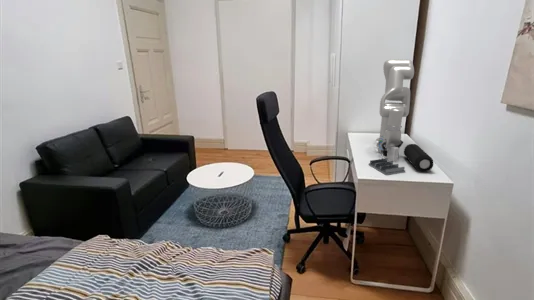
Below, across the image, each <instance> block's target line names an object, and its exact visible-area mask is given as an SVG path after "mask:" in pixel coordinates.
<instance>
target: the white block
mask: <svg viewBox="0 0 534 300" xmlns="http://www.w3.org/2000/svg"><path fill="white" fill-rule="evenodd" d="M386 147H387V146H386ZM386 147H385V148H386ZM399 150H400V149H399V148H398V147H395V146H391V147H388V149H387V151H388V152H387V156H384V155H383V154H382V158H383V159H385V158H388V161H393V163H397V162H398V158H399V157H398V156H399V152H400V151H399Z"/></svg>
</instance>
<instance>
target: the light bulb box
mask: <svg viewBox="0 0 534 300" xmlns="http://www.w3.org/2000/svg"><path fill="white" fill-rule="evenodd" d="M379 137H380V136H379ZM379 137H378V138H379ZM383 138H384V136H382V137H380V138H379V146H378V147H377V153H378V154H379V153H380V154H383V149H382V147H381V145H380V144H381V143H382V142H383Z"/></svg>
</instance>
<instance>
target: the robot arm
mask: <svg viewBox="0 0 534 300" xmlns="http://www.w3.org/2000/svg"><path fill="white" fill-rule="evenodd" d="M383 75H384V78H385V79H384V80H385V88H384V93H383V94H382V96H381V98H380V101H379V115H380V117H381V121H380V130H379V137H378V138H376V141H377V143H376V144H375V146H376V147H377V148H378V146H379V138H380V137H382V136H384V138H383V142H382V143H381V144H380V145H381V147H382V149H383V153H382V156H383V155H384V156H387V152H388V151H387V149H388V147H391V146H395V147H398V148H399V150H400V149H401V147H402V145H403V144H404V141H403V140H402V130H401V129H402V128H403V127H402V123H403V122H402V120H403V118H406V117H408V115H409V114H410V103H411V89H410V88H409V87H408V86H404V80H406V81H407V80H409V81H410V80H413V78H414V75H415V68H414V63H413V61H412V60H411V59H408V58H407V59H406V58H405V59H403V58H402V59H399V58H398V59H388V60H386V61H384V62H383ZM386 101H387V102H386ZM388 101H389V102H388ZM390 101H391V102H390ZM386 146H387V147H386ZM385 147H386V148H385Z"/></svg>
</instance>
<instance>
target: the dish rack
mask: <svg viewBox="0 0 534 300" xmlns="http://www.w3.org/2000/svg"><path fill="white" fill-rule="evenodd" d="M368 166H370V167H371V168H373V169H375V170H376V171H378V172H380V173H382V174H383V175H385V176H390V175H396V174H402V173H406V170H405V168H406V167H405V166H400V165H399V163H394V162H393V161H390V160H388V158H379V159H372V160H369V163H368ZM399 166H400V167H399Z"/></svg>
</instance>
